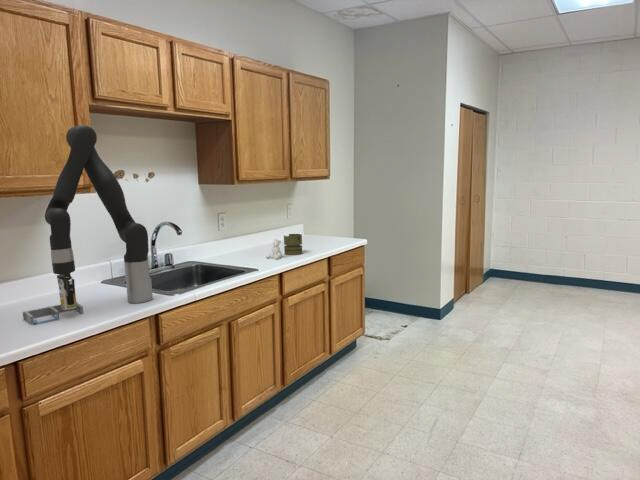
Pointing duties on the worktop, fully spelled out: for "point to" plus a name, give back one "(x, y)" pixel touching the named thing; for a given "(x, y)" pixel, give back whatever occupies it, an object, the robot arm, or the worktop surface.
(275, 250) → the seated beast figurine
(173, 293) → the worktop surface
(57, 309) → the grey two-tier shelf
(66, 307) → the supplement bottle
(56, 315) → the light blue flat bar
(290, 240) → the olive green ridged block
